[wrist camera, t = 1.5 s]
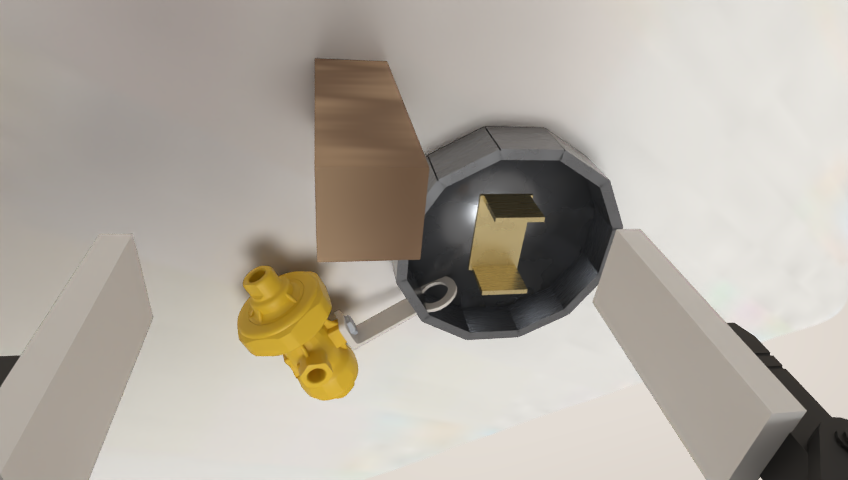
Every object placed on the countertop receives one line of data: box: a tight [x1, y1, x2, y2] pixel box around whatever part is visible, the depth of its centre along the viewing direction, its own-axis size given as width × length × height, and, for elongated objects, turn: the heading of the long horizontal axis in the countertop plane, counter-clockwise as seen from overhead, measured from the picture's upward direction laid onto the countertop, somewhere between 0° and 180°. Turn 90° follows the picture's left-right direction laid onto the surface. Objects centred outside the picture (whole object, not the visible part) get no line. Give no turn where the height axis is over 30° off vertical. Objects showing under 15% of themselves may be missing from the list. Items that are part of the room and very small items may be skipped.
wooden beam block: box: [315, 58, 429, 262], centre depth 22 cm, size 4×4×12 cm
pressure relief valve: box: [237, 266, 457, 400], centre depth 32 cm, size 6×12×10 cm
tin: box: [392, 126, 623, 340], centre depth 32 cm, size 13×13×3 cm
